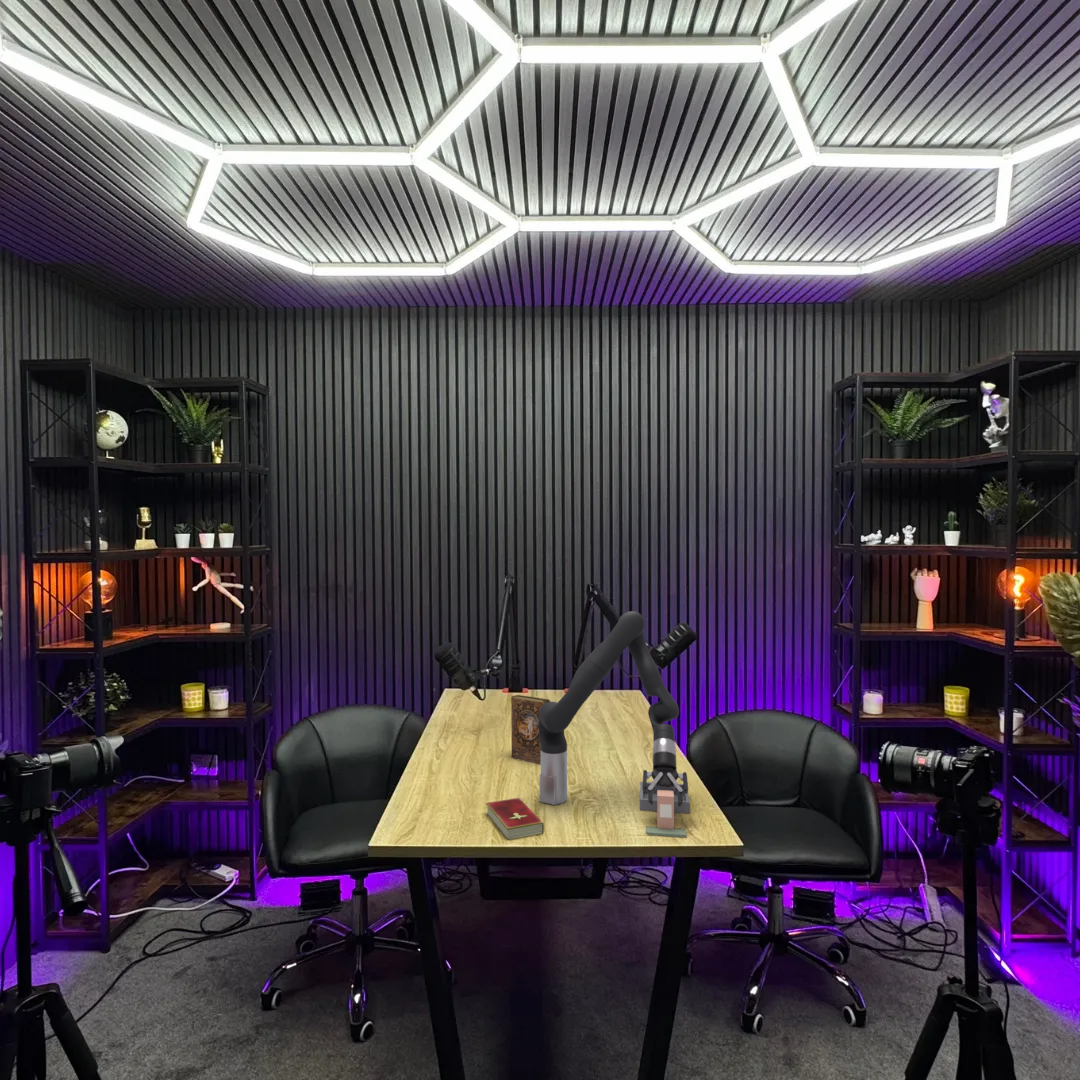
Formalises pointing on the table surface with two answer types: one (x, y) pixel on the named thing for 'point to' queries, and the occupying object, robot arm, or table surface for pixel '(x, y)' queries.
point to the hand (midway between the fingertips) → (665, 804)
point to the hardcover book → (514, 818)
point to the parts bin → (646, 805)
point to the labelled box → (665, 809)
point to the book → (526, 727)
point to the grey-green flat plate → (666, 832)
